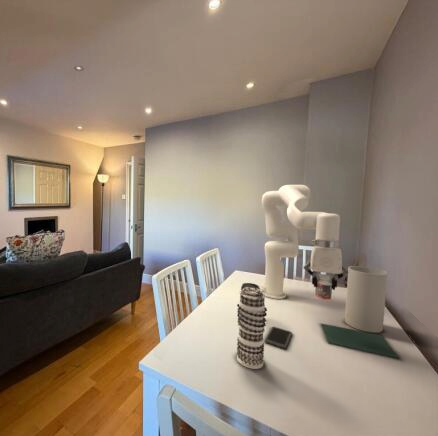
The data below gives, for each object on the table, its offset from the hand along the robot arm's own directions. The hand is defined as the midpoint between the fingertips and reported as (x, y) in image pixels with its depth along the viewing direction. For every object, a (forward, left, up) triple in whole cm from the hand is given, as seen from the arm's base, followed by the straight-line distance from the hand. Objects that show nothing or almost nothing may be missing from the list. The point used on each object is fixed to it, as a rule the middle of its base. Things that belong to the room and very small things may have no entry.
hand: (323, 287), depth 100 cm
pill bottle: (0, 0, -5) cm, 5 cm away
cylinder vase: (+17, +15, -20) cm, 30 cm away
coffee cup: (-28, +1, -20) cm, 34 cm away
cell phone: (-16, -13, -19) cm, 28 cm away
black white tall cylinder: (-25, -33, -20) cm, 46 cm away
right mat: (+11, 0, -19) cm, 22 cm away
